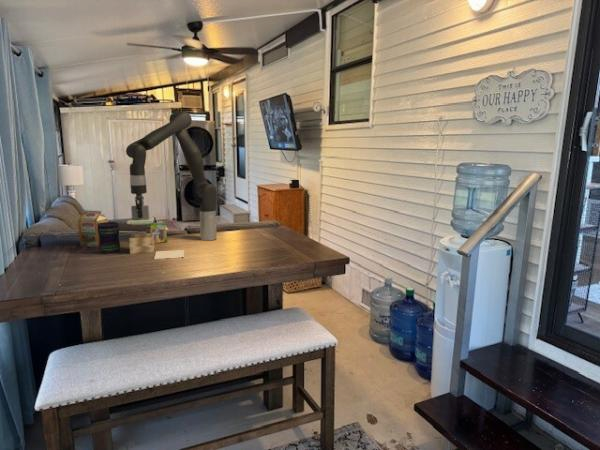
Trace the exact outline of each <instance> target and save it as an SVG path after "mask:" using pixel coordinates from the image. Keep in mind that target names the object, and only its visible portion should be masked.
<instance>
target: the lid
mask: <svg viewBox="0 0 600 450" xmlns="http://www.w3.org/2000/svg"><path fill="white" fill-rule="evenodd" d="M130 208H131V209H130V210H131V217H130V218H128V220H127V221H126V225H132V226H137V225H138V226H140V225H147V224H149V223H153V221H154V217H155V216H154V217H153V216H150V210H149V205H147V204H146V205H145V204H144V205H143V206H142V209H143V210H142V215H143V217H142V218H138V212H137V210H136V205H131V207H130ZM138 208H140V206H138Z"/></svg>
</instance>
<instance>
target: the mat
mask: <svg viewBox="0 0 600 450" xmlns="http://www.w3.org/2000/svg"><path fill="white" fill-rule="evenodd" d="M179 257H184V258H185V249H181V250H180V249H179V250H177V249H176V250H161V251H157V250H156V251H155V254H154V258H153V259H154V260H167V259H166V258H171V259H180V258H179Z"/></svg>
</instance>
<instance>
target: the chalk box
mask: <svg viewBox="0 0 600 450" xmlns="http://www.w3.org/2000/svg"><path fill="white" fill-rule="evenodd" d="M152 217H154V220H153V223H149V224H146V232H147V233H146V234H152V233H154V244H160V243H168V235H167V234H168V233H167V223H166V222H165V221H163V220H157V218H156V217H155V216H152Z"/></svg>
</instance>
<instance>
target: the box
mask: <svg viewBox="0 0 600 450" xmlns="http://www.w3.org/2000/svg"><path fill="white" fill-rule="evenodd" d="M128 242H129V254H130V255H138V254H154V250H155V243H154V233H152V234H147V233H135V234H134V233H132V234H131V235H130V237H129V238H128Z"/></svg>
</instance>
